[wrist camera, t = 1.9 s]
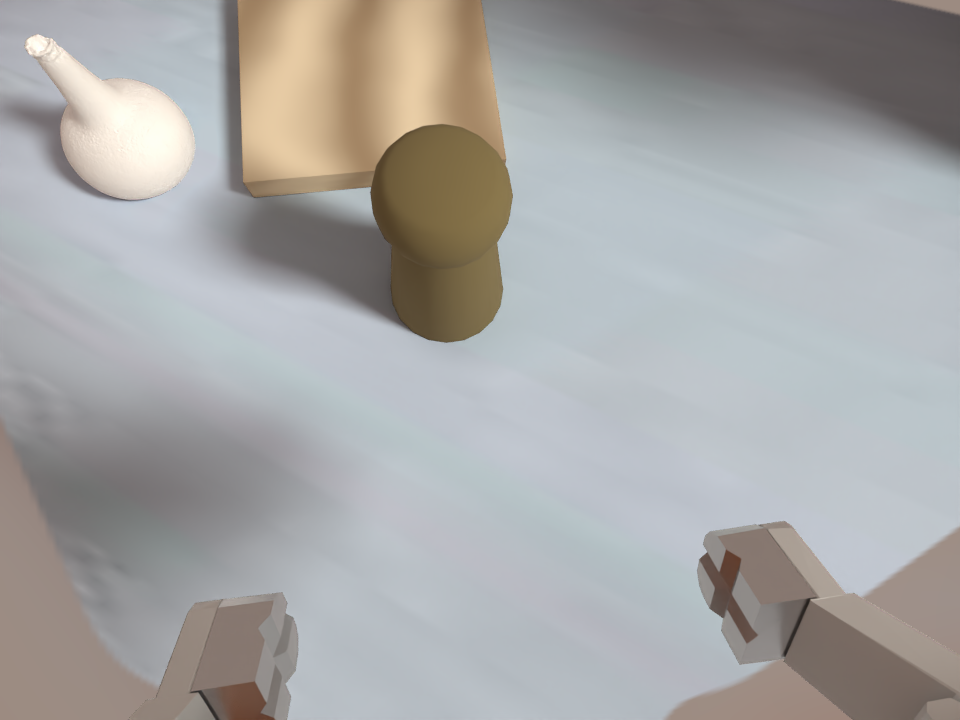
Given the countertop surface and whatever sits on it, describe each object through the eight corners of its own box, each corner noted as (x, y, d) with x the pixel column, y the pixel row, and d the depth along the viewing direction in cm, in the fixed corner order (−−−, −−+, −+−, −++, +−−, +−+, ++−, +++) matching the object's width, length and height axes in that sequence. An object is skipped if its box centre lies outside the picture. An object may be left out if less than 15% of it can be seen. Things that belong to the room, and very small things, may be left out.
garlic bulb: (228, 156, 31) (163, 34, 23) (142, 230, 29) (41, 122, 21) (148, 97, 31) (60, -40, 24) (60, 165, 30) (-66, 39, 22)
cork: (377, 253, 29) (330, 117, 18) (483, 224, 30) (497, 77, 19) (408, 356, 28) (377, 274, 17) (518, 323, 29) (554, 225, 18)
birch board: (475, -10, 33) (475, -33, 32) (503, 174, 31) (506, 158, 29) (246, 5, 33) (237, -17, 31) (253, 197, 30) (243, 182, 28)
